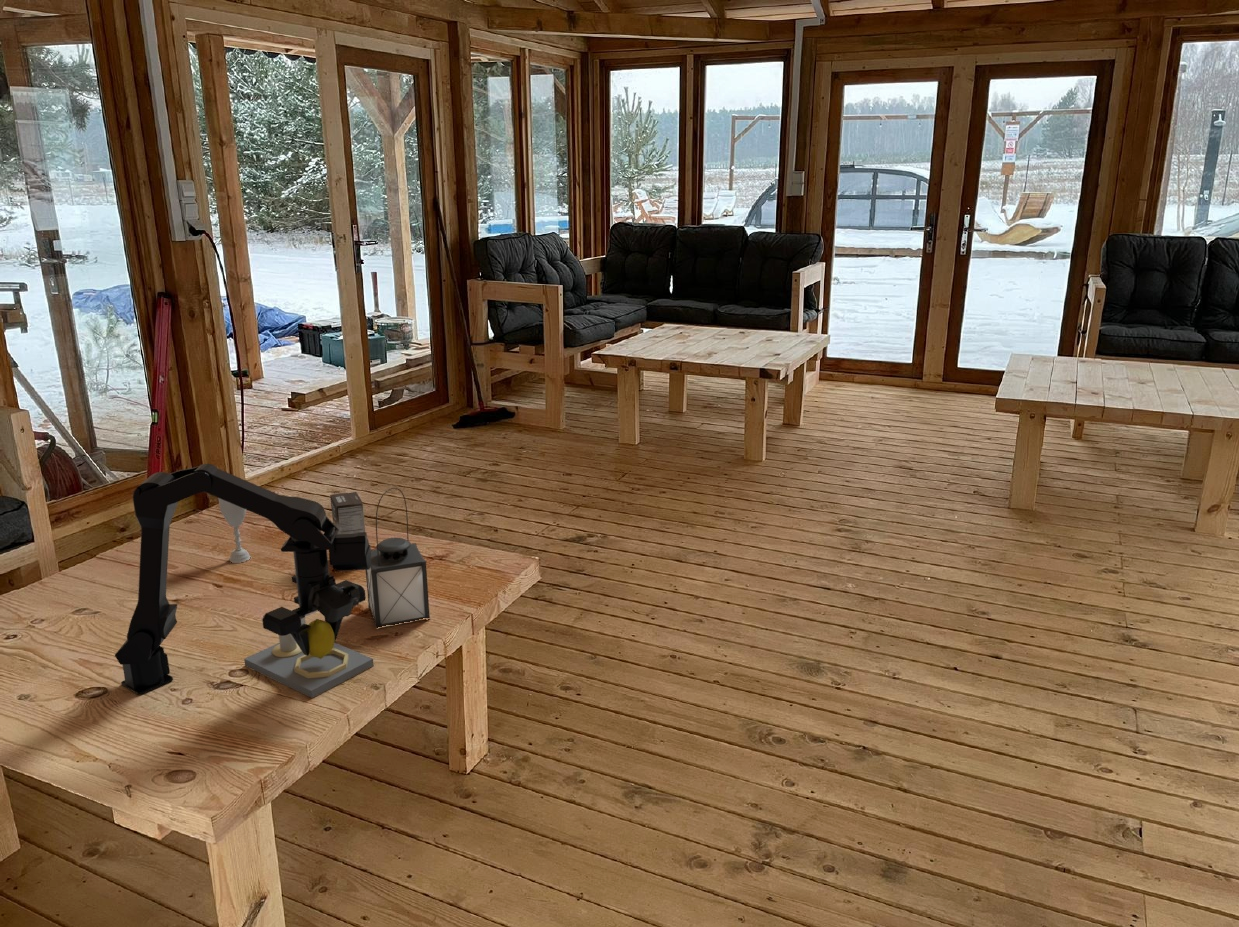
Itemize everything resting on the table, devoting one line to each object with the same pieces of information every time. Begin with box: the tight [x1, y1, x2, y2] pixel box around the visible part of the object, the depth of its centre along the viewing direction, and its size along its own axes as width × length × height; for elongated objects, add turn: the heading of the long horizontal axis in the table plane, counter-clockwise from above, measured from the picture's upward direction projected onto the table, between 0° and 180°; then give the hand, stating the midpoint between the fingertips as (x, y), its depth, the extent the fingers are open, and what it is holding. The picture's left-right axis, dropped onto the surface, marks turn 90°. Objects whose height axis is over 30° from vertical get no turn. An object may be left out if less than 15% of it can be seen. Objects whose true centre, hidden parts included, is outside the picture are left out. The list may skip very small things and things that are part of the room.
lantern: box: [365, 487, 431, 629], centre depth 191 cm, size 11×11×28 cm
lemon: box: [307, 618, 336, 659], centre depth 170 cm, size 6×6×8 cm
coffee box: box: [329, 491, 366, 534], centre depth 220 cm, size 9×6×16 cm
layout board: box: [243, 634, 375, 699], centre depth 173 cm, size 14×20×6 cm
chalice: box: [217, 498, 252, 564], centre depth 221 cm, size 7×7×18 cm
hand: (319, 648), depth 170 cm, fingers closed on lemon, 5 cm apart
